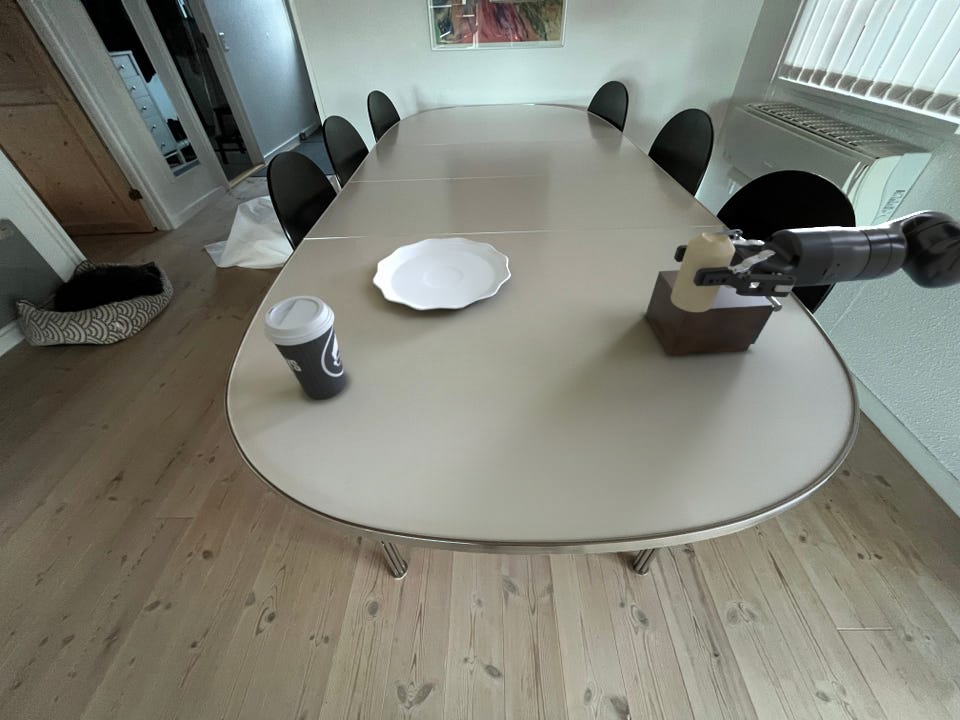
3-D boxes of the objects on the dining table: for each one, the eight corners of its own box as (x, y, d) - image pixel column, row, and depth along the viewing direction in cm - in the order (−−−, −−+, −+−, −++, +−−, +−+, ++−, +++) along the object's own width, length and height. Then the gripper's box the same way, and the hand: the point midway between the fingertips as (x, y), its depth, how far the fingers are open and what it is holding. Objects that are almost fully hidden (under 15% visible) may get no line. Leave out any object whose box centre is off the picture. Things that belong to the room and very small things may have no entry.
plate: (536, 288, 86) (537, 278, 84) (410, 337, 75) (408, 327, 73) (466, 235, 104) (466, 226, 103) (357, 269, 94) (355, 260, 92)
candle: (709, 293, 59) (735, 227, 52) (714, 315, 55) (743, 247, 48) (669, 288, 60) (689, 224, 54) (671, 310, 57) (694, 243, 50)
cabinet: (715, 310, 78) (734, 266, 72) (747, 350, 70) (773, 305, 63) (645, 314, 78) (659, 271, 71) (669, 355, 70) (687, 310, 63)
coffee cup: (323, 358, 71) (294, 286, 61) (367, 374, 68) (344, 301, 58) (282, 395, 65) (242, 322, 55) (328, 415, 62) (295, 341, 52)
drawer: (744, 307, 77) (762, 271, 72) (776, 342, 70) (799, 305, 64) (659, 312, 77) (671, 276, 72) (682, 348, 69) (698, 311, 64)
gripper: (791, 207, 57) (672, 215, 56) (869, 258, 46) (723, 268, 46) (767, 256, 62) (658, 263, 62) (833, 312, 51) (701, 320, 51)
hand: (686, 265), depth 54 cm, fingers closed on candle, 5 cm apart
